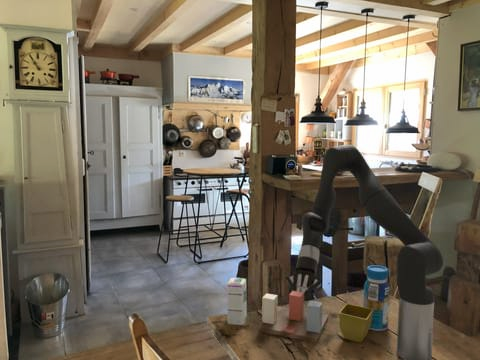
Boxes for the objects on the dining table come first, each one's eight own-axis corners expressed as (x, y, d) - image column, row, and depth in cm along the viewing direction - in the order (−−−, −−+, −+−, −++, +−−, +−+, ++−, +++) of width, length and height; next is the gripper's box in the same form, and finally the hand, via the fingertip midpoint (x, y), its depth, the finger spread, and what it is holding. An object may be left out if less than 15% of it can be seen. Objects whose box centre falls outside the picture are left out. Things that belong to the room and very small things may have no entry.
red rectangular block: (303, 316, 142) (303, 292, 141) (300, 321, 138) (300, 296, 137) (292, 314, 144) (292, 290, 143) (288, 319, 140) (289, 294, 139)
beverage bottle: (357, 321, 142) (359, 265, 140) (378, 318, 144) (381, 263, 142) (371, 333, 134) (373, 273, 132) (393, 330, 136) (396, 271, 134)
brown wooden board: (328, 318, 144) (328, 313, 144) (316, 343, 128) (316, 337, 128) (276, 309, 152) (276, 304, 151) (258, 331, 135) (259, 325, 135)
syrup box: (243, 325, 139) (244, 284, 137) (226, 324, 140) (226, 282, 139) (247, 318, 145) (247, 278, 143) (230, 316, 146) (230, 276, 144)
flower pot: (372, 335, 133) (373, 308, 132) (366, 347, 125) (367, 319, 124) (345, 329, 137) (346, 302, 136) (337, 340, 130) (338, 312, 128)
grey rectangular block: (321, 327, 134) (322, 302, 133) (319, 333, 130) (319, 307, 129) (309, 325, 136) (310, 300, 135) (306, 330, 132) (307, 305, 131)
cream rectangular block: (277, 319, 140) (277, 295, 139) (273, 324, 136) (273, 299, 135) (266, 317, 141) (266, 293, 140) (262, 322, 138) (262, 297, 137)
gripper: (288, 253, 153) (278, 297, 143) (324, 257, 147) (316, 303, 138) (292, 263, 158) (282, 306, 148) (327, 267, 153) (319, 312, 143)
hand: (298, 305), depth 143 cm, fingers closed
